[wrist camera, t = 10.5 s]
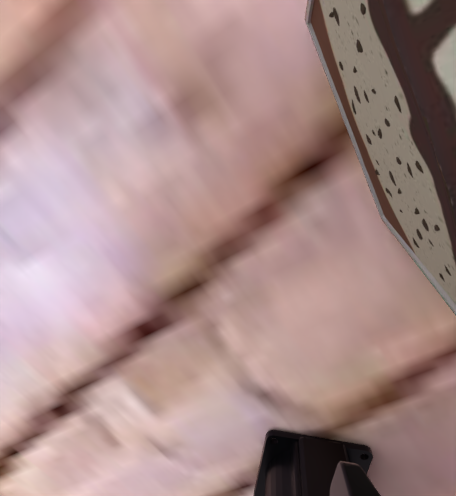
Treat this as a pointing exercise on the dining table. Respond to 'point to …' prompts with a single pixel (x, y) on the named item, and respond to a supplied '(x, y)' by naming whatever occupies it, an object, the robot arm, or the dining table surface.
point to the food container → (399, 115)
